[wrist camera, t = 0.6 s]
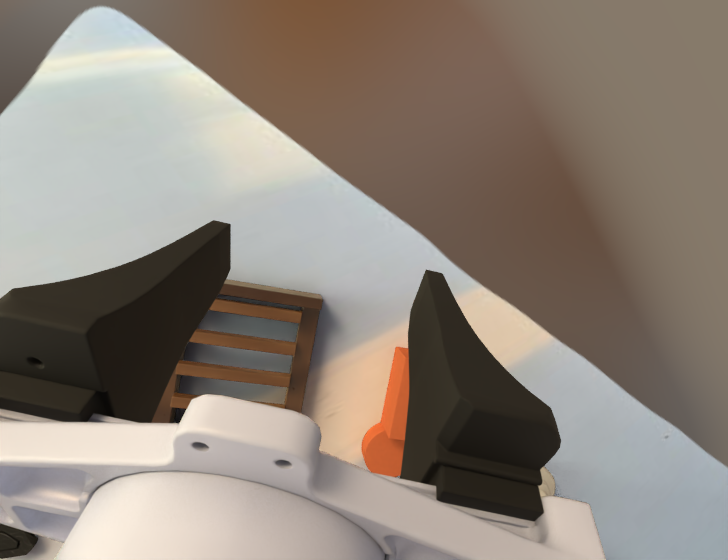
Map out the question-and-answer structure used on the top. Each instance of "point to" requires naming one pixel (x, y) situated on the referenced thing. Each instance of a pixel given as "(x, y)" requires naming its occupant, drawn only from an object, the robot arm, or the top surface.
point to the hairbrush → (15, 541)
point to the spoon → (390, 422)
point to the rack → (252, 346)
